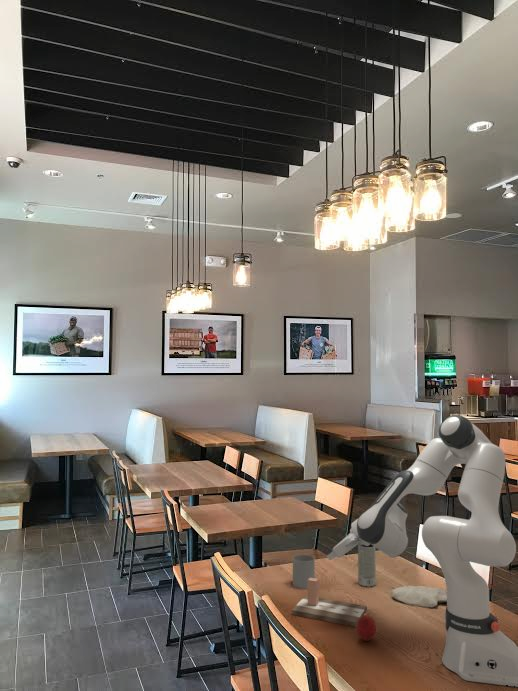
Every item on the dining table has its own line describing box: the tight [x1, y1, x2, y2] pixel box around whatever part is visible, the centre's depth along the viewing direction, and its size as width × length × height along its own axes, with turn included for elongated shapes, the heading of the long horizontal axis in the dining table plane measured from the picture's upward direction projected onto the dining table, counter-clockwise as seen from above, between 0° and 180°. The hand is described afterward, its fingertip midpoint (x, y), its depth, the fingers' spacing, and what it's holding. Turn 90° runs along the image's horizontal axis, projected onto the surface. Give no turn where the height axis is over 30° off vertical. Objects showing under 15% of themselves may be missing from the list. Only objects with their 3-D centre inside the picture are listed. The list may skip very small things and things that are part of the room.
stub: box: [307, 578, 319, 605], centre depth 188 cm, size 3×2×8 cm
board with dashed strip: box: [291, 595, 368, 628], centre depth 185 cm, size 22×14×2 cm, turn 66°
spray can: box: [357, 544, 377, 588], centre depth 213 cm, size 7×7×20 cm
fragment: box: [390, 585, 447, 609], centre depth 196 cm, size 15×20×5 cm
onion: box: [356, 612, 377, 642], centre depth 165 cm, size 6×6×8 cm
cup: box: [292, 554, 316, 590], centre depth 212 cm, size 8×8×10 cm
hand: (333, 553), depth 188 cm, fingers open, 8 cm apart
